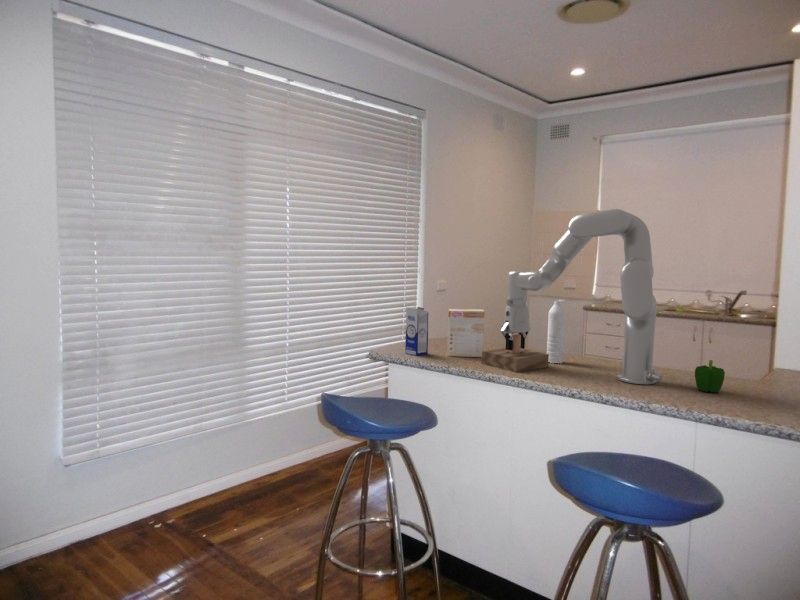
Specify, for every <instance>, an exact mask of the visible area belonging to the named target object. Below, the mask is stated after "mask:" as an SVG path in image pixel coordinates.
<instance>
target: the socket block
mask: <svg viewBox="0 0 800 600" xmlns="http://www.w3.org/2000/svg"><path fill="white" fill-rule="evenodd" d="M548 358H549V354H547V353H545V352H539V351H535V350H530V349H526V348H524V349H520V354H511V353H510V350H506V347H503V348H495V349H488V350H483V351H482V357H481V361H480V362H481V364H482V365H485V366H486V365H487V366H489V367H493V368H496V369H502V370H506V371H509V372H513V373H520V372H521V373H522V372H527V371H532V370H531V369H533V370H537V369H536V368H539V369H543V368H542V367H545V368H549V363H548ZM526 370H527V371H526Z"/></svg>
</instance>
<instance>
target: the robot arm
mask: <svg viewBox="0 0 800 600" xmlns="http://www.w3.org/2000/svg"><path fill="white" fill-rule="evenodd" d="M567 228H568V229H567V230H566V231H565V232H564V233H563V234H562V235H561V237H559V239H557V241H556V242H555V243H554V244H553V246H552V250H551V254H550V255H549V257H548V259H547V260H546V262H545V263H543V265H542V266H541V268H539V269H538V270H533V271H526V270H525V271H524V270H510V271H509V272H508V274H507V293H506V301H505V302H506V306H505V310H504V318H503V327H502V328H501V329H500V333H501V334H502V335H503V337H504V340H505V348H506V350H513V340H512V337H513V334H520V335H521V349H526V348H525V346H526V344H525V343H526V338H527V335H528V334H529V332H530V330H531V327H530V311H529V306H527V305H528V291H531V292H541V291H544V290H547V289H548V288H550V287H551V286H552V285H553V284H554V283H555V282H556V281H557V279H558V278H560V276H561V275H562V274H563V273H564V272H565V270H566V268H567V267H568V266H569V265H570V264H571V263H572V261H573V259H574V258H575V257H576V256H578V254H579V253H580V252H581V251H582V249H583V248H584V247H585V246H587V244H588V243H589V242H590V241H591V239H593V238H595V237H603V236H605V237H606V236H620V237H621V238H622V239H623V253H624V264H623V265H622V267H621V270H620V276H619V277H620V293H621V307H622V310H623V312H624V314H625V321H624V336H623V350H622V351H623V354H622V367H621V368H622V369H621V371H622V372H621V373H619V374H617V375H616V379H617V380H619V381H621V382H625V383H628V384H634V385H654V384H656V383H657V381H658V382H662V381H663V374H660V373H656V369H654V368H653V361H654V347H655V345H654V344H655V330H656V320H657V319H656V318H657V312H658V311H657V310H658V308H657V305H658V304H657V303H658V302H657V299H656V296H654V294H653V277H654V266H653V255H652V245H651V244H652V243H651V235H650V230H649V228H648V226H647V224H646V223H645V222H644V221H643V220H642V218H640V217H638V216H637V215H634V214H633V213H629V212H627V211H625V210H623V209H621V208H620V209H619V208H614V209H613V208H612V209H606V210H600V211H594V212H586V213H579V214H577V215H575V216H573V217H572V218H571V219H570V221H569V222H568V227H567Z"/></svg>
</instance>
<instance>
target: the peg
mask: <svg viewBox="0 0 800 600" xmlns="http://www.w3.org/2000/svg"><path fill="white" fill-rule="evenodd" d="M512 340H513V350H510V353H511V354H520V349H521V335H520V334H518V333H514V334H513V337H512Z"/></svg>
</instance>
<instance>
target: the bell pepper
mask: <svg viewBox="0 0 800 600" xmlns="http://www.w3.org/2000/svg"><path fill="white" fill-rule="evenodd" d="M713 362H714V361H713V360H712V359H710V360H709V362H708V365H706V364H705V365H701V366H700V365H699V366H696V367H695V369H694V379H695V380H694V381H695V384H696V388H697V389H698V390H699V391H700V390H701V392H704V391H705V393H712V392H717V393H719V392H720V391H721V389H722V387H723V385H724V384H723V383H724V381H725V375H726V374H725V373H726V372H725V370H724V368H721V367H717V366H715V365H713V364H714V363H713ZM708 391H710V392H708Z"/></svg>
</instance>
